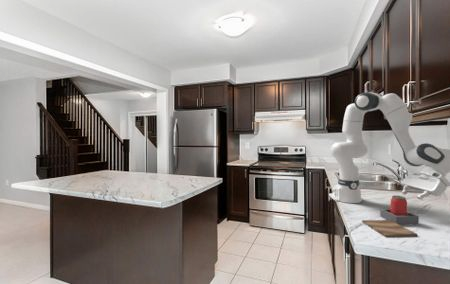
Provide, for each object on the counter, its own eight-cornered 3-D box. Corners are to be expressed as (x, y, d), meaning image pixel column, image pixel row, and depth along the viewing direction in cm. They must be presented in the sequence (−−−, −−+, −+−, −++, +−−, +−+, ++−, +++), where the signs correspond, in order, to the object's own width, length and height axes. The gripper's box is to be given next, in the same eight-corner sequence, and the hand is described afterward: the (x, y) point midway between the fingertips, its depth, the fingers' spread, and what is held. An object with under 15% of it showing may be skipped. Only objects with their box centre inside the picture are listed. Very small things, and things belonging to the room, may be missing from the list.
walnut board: (362, 222, 113) (362, 220, 113) (389, 221, 113) (389, 220, 113) (385, 236, 97) (385, 234, 97) (417, 236, 97) (417, 234, 97)
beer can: (400, 223, 111) (400, 199, 111) (387, 218, 118) (387, 195, 117) (410, 221, 113) (410, 198, 113) (396, 217, 120) (397, 194, 119)
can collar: (380, 216, 121) (380, 209, 121) (400, 216, 121) (400, 208, 121) (396, 224, 110) (396, 216, 110) (418, 224, 110) (418, 216, 110)
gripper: (408, 169, 125) (391, 186, 125) (445, 175, 105) (424, 197, 105) (416, 176, 125) (398, 194, 126) (454, 185, 105) (433, 206, 105)
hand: (410, 195), depth 115 cm, fingers open, 8 cm apart
